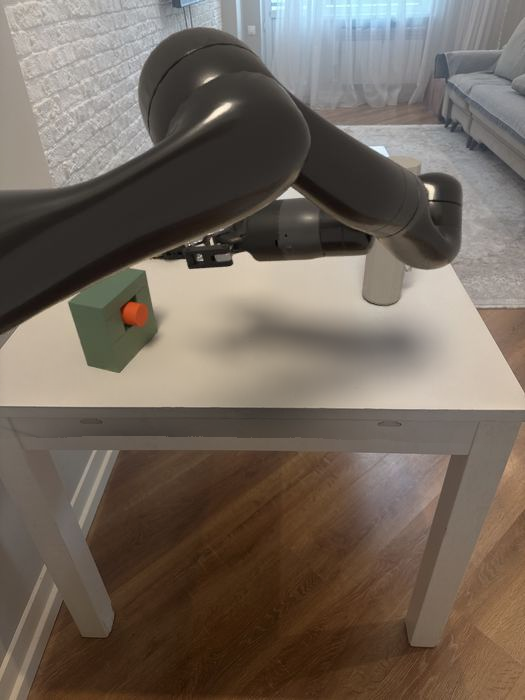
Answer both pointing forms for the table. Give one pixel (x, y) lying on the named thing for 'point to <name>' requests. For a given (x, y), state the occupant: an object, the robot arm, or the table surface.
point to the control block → (112, 319)
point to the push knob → (134, 313)
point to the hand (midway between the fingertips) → (176, 236)
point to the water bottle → (386, 260)
